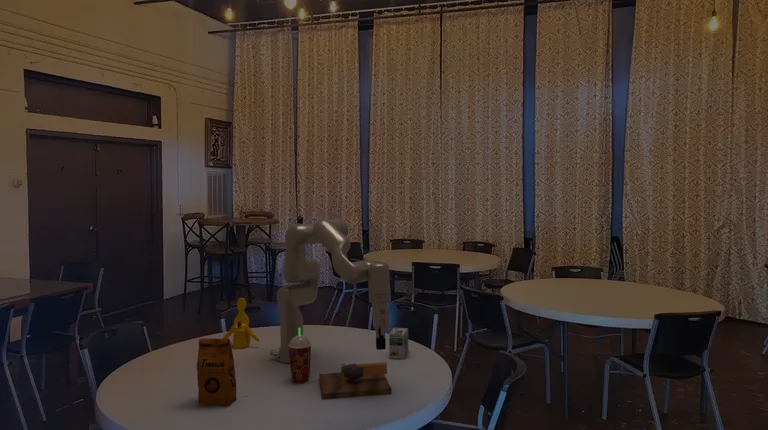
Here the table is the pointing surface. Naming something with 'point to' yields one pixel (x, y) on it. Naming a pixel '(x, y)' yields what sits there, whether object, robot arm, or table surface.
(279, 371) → the table surface
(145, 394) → the table surface
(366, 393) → the wooden board with lever
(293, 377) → the smoothie
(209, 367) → the coffee package
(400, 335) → the light bulb box
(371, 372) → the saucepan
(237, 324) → the figure statuette
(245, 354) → the table surface
